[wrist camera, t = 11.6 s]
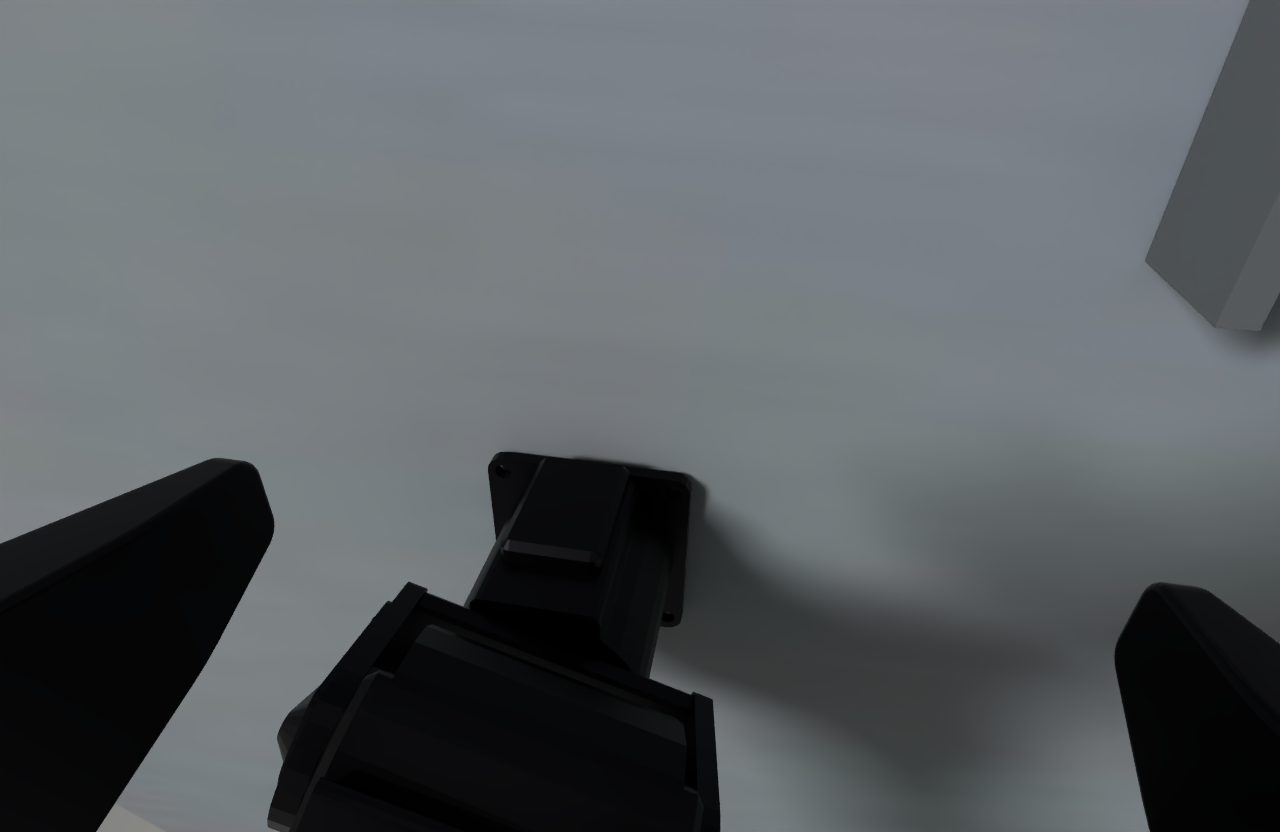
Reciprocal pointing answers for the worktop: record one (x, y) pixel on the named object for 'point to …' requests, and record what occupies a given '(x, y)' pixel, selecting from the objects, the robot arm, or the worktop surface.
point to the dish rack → (1231, 188)
